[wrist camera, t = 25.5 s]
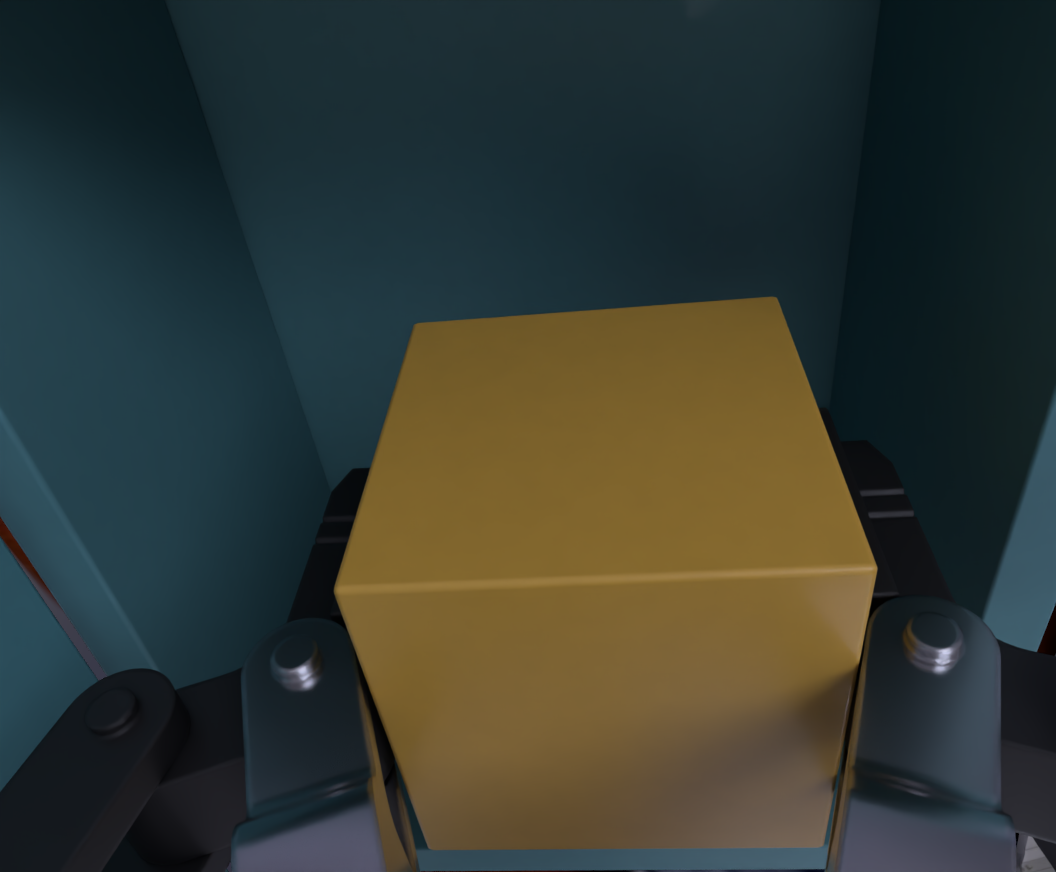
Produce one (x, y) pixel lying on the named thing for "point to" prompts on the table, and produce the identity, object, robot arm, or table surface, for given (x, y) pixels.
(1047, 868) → the packaged product
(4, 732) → the lid
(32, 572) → the table surface
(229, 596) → the storage box
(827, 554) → the block
